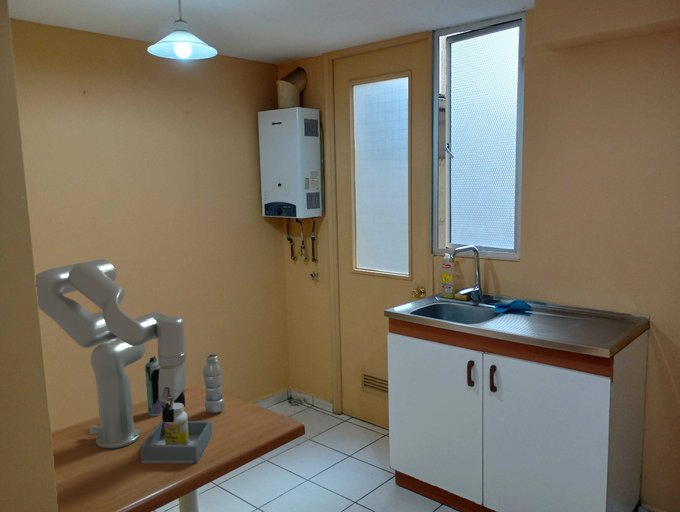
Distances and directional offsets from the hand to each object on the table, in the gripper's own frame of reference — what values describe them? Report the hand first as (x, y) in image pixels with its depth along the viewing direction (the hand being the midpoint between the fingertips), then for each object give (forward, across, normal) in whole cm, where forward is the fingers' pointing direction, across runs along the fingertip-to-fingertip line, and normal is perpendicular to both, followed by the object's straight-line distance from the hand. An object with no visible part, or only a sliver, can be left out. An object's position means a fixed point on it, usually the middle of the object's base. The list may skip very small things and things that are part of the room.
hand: (174, 414), depth 164 cm
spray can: (+12, -25, -15) cm, 31 cm away
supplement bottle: (+10, 0, +1) cm, 10 cm away
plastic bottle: (+11, -26, +5) cm, 28 cm away
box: (+11, 0, +1) cm, 11 cm away
